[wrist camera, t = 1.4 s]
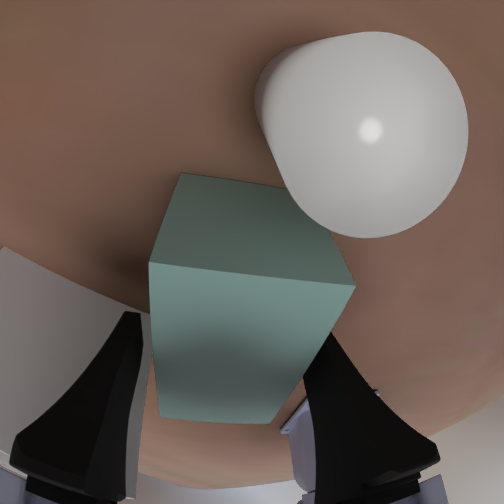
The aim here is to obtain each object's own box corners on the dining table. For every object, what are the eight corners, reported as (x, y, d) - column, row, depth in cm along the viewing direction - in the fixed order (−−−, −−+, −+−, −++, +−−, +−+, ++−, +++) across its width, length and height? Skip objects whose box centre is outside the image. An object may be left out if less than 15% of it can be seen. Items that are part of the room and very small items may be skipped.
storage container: (5, 244, 13) (-83, 393, 4) (159, 315, 17) (135, 498, 8) (24, 392, 25) (4, 466, 16) (102, 424, 29) (91, 501, 20)
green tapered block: (259, 337, 19) (269, 423, 14) (171, 328, 18) (160, 417, 13) (309, 193, 13) (356, 286, 8) (181, 173, 12) (148, 262, 7)
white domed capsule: (353, 170, 12) (423, 249, 8) (242, 146, 12) (252, 220, 7) (386, 67, 10) (487, 90, 5) (269, 29, 9) (307, -4, 4)
